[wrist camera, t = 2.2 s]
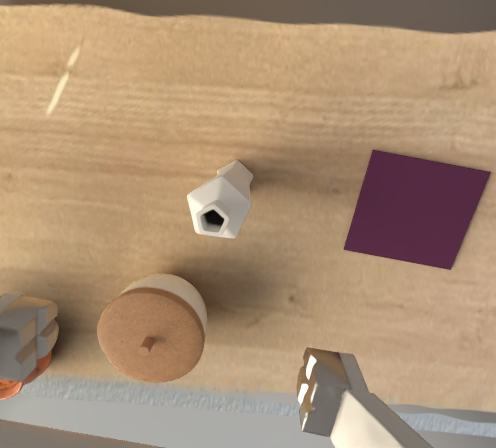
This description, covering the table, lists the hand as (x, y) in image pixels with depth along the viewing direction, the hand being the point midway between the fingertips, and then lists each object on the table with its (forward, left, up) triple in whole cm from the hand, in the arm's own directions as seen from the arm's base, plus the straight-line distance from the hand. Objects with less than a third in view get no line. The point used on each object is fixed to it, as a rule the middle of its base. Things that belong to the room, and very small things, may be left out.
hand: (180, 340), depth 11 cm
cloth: (-19, -1, -26) cm, 32 cm away
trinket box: (+6, +15, -26) cm, 31 cm away
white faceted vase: (+1, -1, -26) cm, 26 cm away
